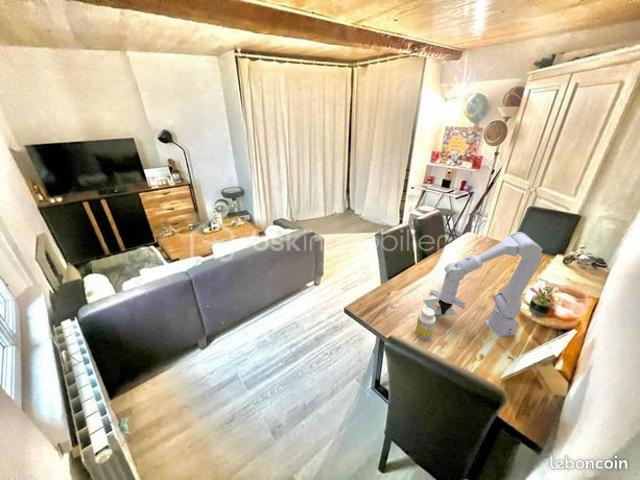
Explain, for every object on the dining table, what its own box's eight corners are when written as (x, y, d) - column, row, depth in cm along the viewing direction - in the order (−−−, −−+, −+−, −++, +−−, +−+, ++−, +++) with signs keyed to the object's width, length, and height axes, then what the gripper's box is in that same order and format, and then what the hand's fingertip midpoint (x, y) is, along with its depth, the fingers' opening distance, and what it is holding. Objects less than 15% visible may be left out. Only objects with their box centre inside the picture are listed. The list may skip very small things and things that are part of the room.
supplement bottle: (418, 325, 110) (423, 303, 105) (433, 332, 106) (439, 310, 101) (413, 335, 106) (417, 312, 100) (428, 342, 102) (434, 319, 96)
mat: (457, 315, 115) (457, 314, 115) (435, 317, 114) (435, 317, 114) (442, 298, 126) (443, 298, 126) (422, 300, 125) (422, 300, 125)
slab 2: (452, 305, 117) (446, 298, 122) (445, 306, 117) (439, 299, 121) (451, 309, 118) (445, 302, 123) (444, 310, 118) (438, 303, 122)
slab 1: (443, 314, 116) (445, 306, 113) (435, 315, 115) (437, 306, 113) (440, 310, 118) (442, 302, 115) (432, 311, 117) (434, 303, 115)
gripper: (470, 291, 104) (463, 316, 110) (435, 278, 113) (430, 301, 119) (465, 300, 99) (458, 324, 105) (429, 285, 108) (424, 309, 114)
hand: (443, 313), depth 112 cm, fingers closed
